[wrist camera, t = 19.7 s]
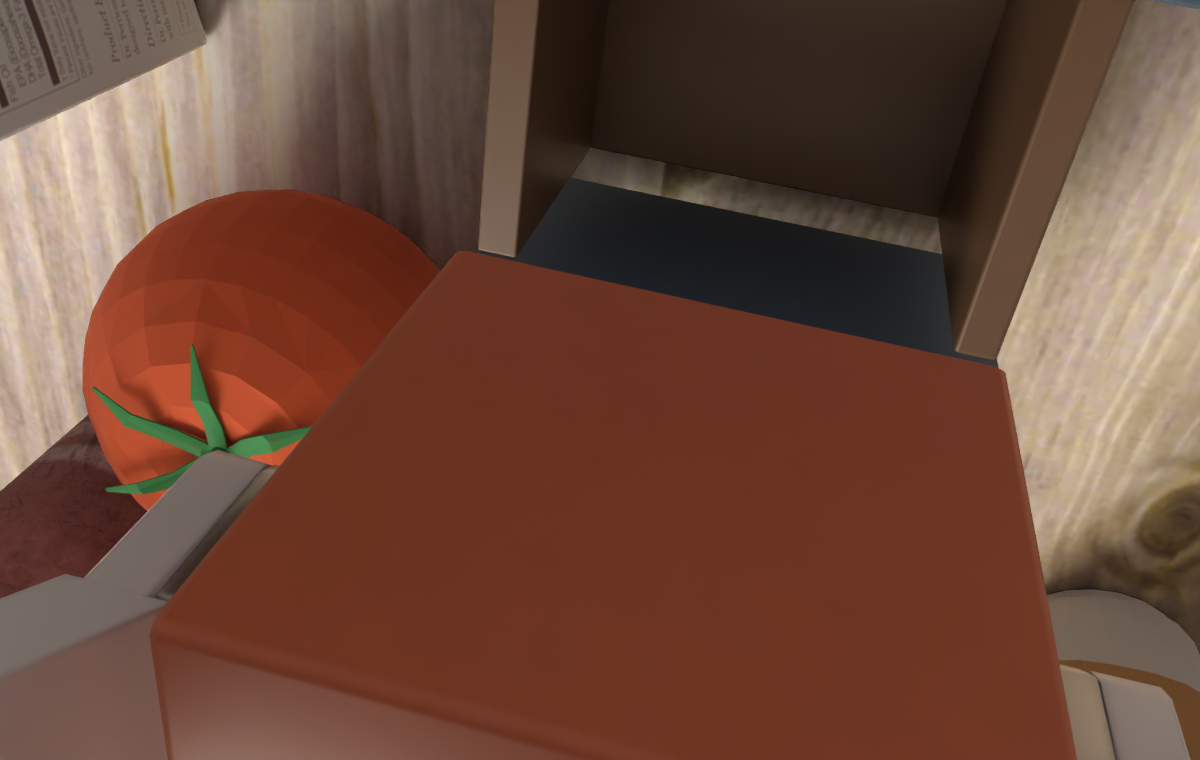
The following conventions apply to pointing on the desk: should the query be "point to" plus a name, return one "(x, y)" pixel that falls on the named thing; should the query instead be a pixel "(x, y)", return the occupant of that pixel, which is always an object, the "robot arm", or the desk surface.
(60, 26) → the supplement box
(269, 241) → the tomato
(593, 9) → the drawer
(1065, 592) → the coffee cup
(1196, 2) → the cabinet
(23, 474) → the can
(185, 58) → the desk surface
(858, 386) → the block
